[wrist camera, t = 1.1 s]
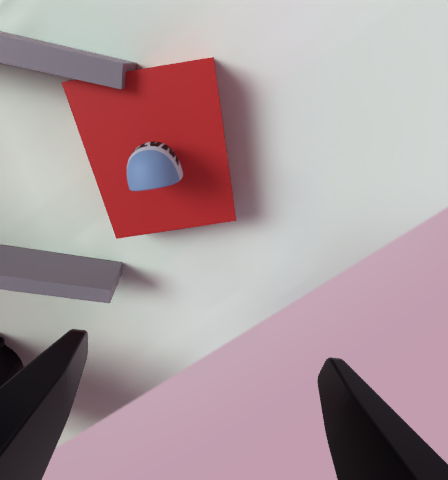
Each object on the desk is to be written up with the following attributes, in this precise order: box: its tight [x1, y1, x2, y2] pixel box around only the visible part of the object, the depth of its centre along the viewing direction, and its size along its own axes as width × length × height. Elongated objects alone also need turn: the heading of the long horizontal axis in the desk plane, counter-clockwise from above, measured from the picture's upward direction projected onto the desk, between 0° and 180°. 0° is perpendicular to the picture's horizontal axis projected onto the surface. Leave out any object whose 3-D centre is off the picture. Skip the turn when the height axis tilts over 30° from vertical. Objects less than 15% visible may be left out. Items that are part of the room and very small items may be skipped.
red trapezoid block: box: [62, 57, 236, 239], centre depth 16 cm, size 8×7×6 cm
